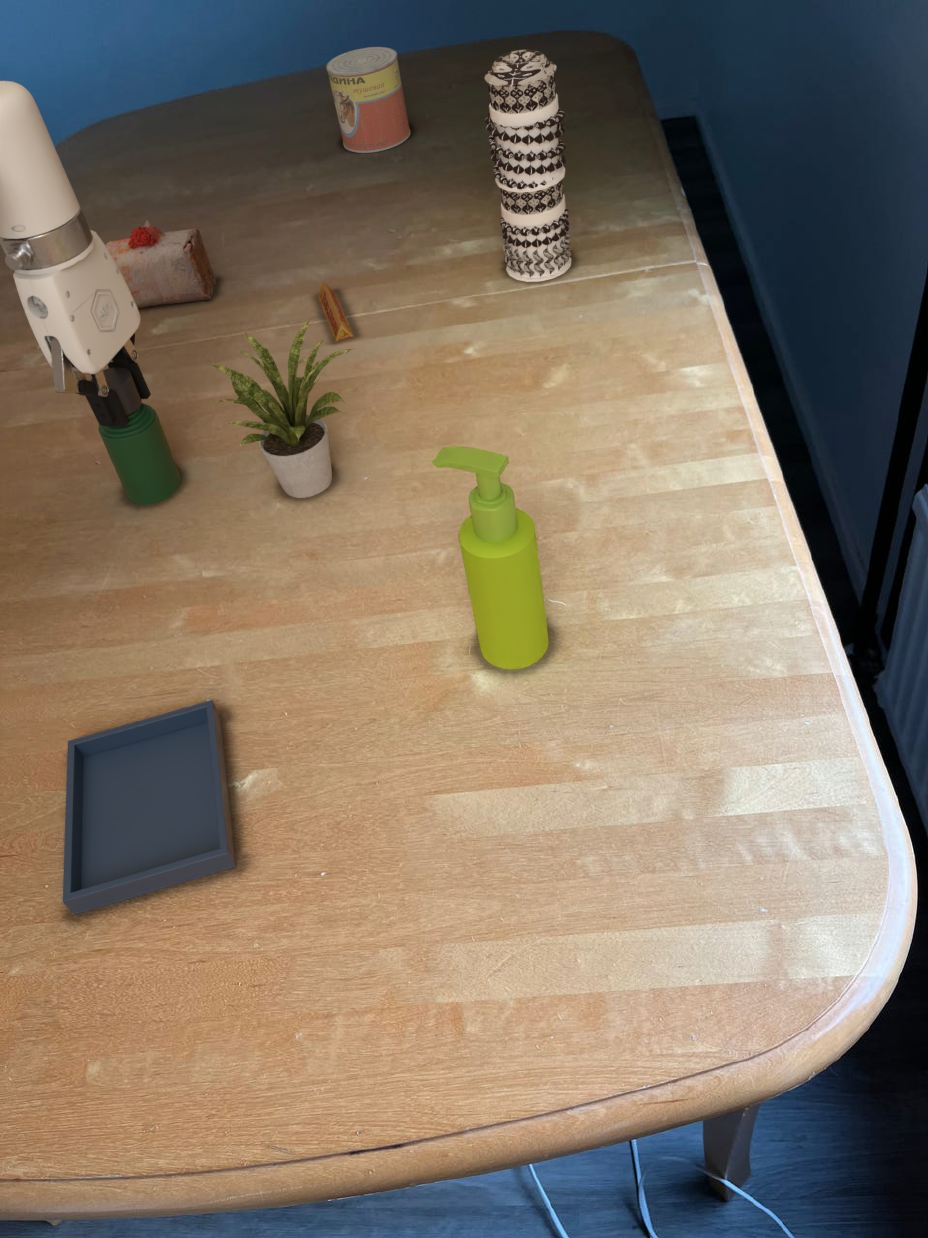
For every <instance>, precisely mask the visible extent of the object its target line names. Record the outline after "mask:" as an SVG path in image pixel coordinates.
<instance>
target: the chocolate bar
mask: <svg viewBox="0 0 928 1238" xmlns="http://www.w3.org/2000/svg"><path fill="white" fill-rule="evenodd" d="M317 297H318V301H319V303H320V306H321V308H322V310H323V313H324V315H325V318H326V320H327V323H328V326H329V328H330V330H331V334H332V336H333V339H334V341H335V342H339V341H342V340H346V339H349V338H354V334H353V332H352V329H351V327H350V324H349V322H348V319H347V317H346V315H345V312H344V310H343V308H342V305H341V303H340V300H339V298H338V296H337V294H336V292H335V291H334V290H333V289H332V288H331V287H330V286H329V285H328V284H327V283H326V282H324V281H322V282H321V286H320V290H319V293H318V296H317Z"/></svg>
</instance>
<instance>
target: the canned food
mask: <svg viewBox="0 0 928 1238" xmlns="http://www.w3.org/2000/svg"><path fill="white" fill-rule="evenodd" d="M325 69H326V71H327V75H328V80H329V84H330V88H331V92H332V93H331V94H332V97H333V103H334V106H335V111H336V115H337V120H338V124H339V128H340V133H341V137H342V145H343V147H344V149H345V150H347V151H349V152H352V153H357V154H370V153H372V154H373V153H377V152H384V151H386V150H390V149H393V148H396V147H397V146H399V145H401V144H403V143H404V142H406V141H407V140H408V139H409V138H410V136H411V134H412V133H411V129H410V124H409V119H408V113H407V107H406V101H405V96H404V89H403V85H402V79H401V74H400V73H401V72H400V67H399V61H398V52H397V51H396V50H395V49H393V48H390V47H385V46H370V47H369V46H368V47H362V48H357V49H352V50H349V51H346V52H344V53H341V54H338V55H337V56H334V57H333V58H331V59H330V60H329V61H328V62H327V63H326V67H325Z"/></svg>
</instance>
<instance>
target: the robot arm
mask: <svg viewBox="0 0 928 1238" xmlns="http://www.w3.org/2000/svg"><path fill="white" fill-rule="evenodd" d="M105 245H106V243H104V241H103V240H102V238H101V237H100V236H99V235H98V233H97V232H96V231H95V230H92V229H90V226H89V224H88V222H87V219H86V217H85V215H84V212H83V210H82V208H81V205H80V203H79V201H78V198H77V196H76V194H75V191H74V188H73V187H72V184H71V182H70V179H69V177H68V175H67V172H66V171H65V168H64V166H63V164H62V161H61V159H60V156H59V154H58V151H57V149H56V147H55V145H54V142H53V140H52V137H51V136H50V133H49V131H48V128H47V125H46V124H45V121H44V118H43V116H42V114H41V112H40V109H39V107H38V105H37V102H36V101H35V99H34V97H33V95H32V94H31V92H30V91H29V90H28V89H27V88H26V87H25V86H23V85H22V84H20V83H17V82H15V81H11V80H0V246H1V248H2V250H3V252H4V254H5V257H4V262H5V265H6V266H7V267H8V268H9V269H10V270H12V271H14V272H13V275H12V277H13V280H14V284H15V287H16V291H17V294H18V297H19V299H20V302H21V306H22V308H23V311H24V314H25V316H26V318H27V319H26V320H27V321H28V324H29V326H30V329H31V331H32V333H33V336H34V338H35V340H36V342H37V344H38V346H39V348H40V350H41V353H42V354H43V356H44V359H45V360H46V361H47V363H48V365H49V366H50V367H51V369H52V383H53V390H54V392H55V393H57V394H78V395H79V396H80V397H85V399H86V400H87V402H88V404H89V406H90V408H91V411H92V413H93V415H94V417H95V419H96V421H97V423H98V425H99V424H100V425H101V426H111V427H126V426H127V424H128V423H129V422H128V418H127V416H126V414H125V412H124V410H123V407H122V405H121V403H120V401H119V399H118V397H117V394H116V392H115V391H114V390H109V388H108V385H107V382H106V379H105V376H104V373H103V370H104V369H105V368H106V367H108V368H113V367H118V368H127V369H128V370H129V371H130V372H131V375H132V377H133V380H134V382H135V385H136V387H137V389H138V392H139V394H140V397H141V399H142V400H148V399H149V398H150V397H151V395H152V394H151V391H150V388H149V387H148V384H147V382H146V379H145V377H144V375H143V373H142V370H141V368H140V366H139V363H138V362H137V361H138V359H139V352H138V350H137V348H136V347H135V343H136V342H135V340H136V332H137V330H138V328H139V326H140V324H141V318H142V317H141V314H140V311H139V309H138V308H137V305H136V303H135V301H134V299H133V296H132V294H131V292H130V290H129V288H128V286H127V284H126V282H125V280H124V278H123V276H122V274H121V272H120V270H119V268H118V266H117V264H116V262H115V261H114V259H113V257H112V256H111V254H110V252H109V251H108V249H107V248H106V246H105ZM86 374H89V375H90V376H91V379H93V382H92V381H90V380H89V379H88V378H87V376H86Z"/></svg>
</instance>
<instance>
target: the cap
mask: <svg viewBox="0 0 928 1238" xmlns="http://www.w3.org/2000/svg"><path fill="white" fill-rule="evenodd" d="M103 373H104V376H105V379H106V382H107V385H108V388H109V390H114V391H115V392H116V394H117V397H118V399H119V401H120V403H121V405H122V407H123V410H124V412H125V414H126V416H127V415H130V414H132V413H133V412H135V411H136V410H138V409H139V407H140V406H141V404H142V403H143V399H141V397H140V394H139V392H138V389H137V387H136V385H135V382H134V380H133V377H132V375H131V372H130V371H129V370H128V369H127V368H118V367H113V368H109V367H108V368H104V369H103ZM89 381H92V382H93V379H92V378H91V379H90V380H89Z"/></svg>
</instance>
